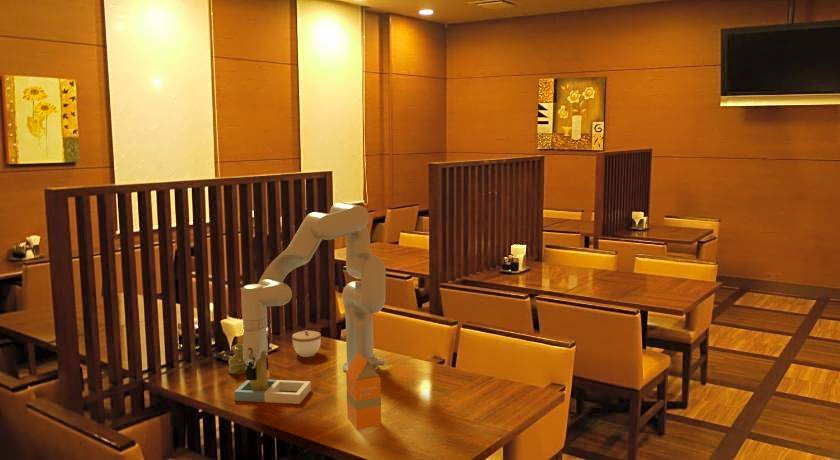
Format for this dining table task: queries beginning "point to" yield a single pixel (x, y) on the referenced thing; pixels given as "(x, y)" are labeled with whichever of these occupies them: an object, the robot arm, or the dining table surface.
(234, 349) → the olive bulbous piece
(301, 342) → the lidded jar
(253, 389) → the vase
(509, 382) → the dining table surface
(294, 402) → the pocket rack
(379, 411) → the orange juice
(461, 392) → the dining table surface
